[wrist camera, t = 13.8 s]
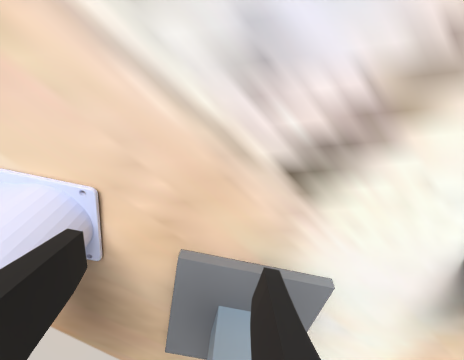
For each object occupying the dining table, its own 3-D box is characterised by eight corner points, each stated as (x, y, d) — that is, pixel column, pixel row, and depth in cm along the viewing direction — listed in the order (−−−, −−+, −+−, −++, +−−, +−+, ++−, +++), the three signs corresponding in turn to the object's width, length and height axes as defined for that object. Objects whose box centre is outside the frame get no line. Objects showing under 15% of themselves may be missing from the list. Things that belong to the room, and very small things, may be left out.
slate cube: (210, 333, 28) (203, 389, 23) (218, 305, 25) (212, 362, 21) (256, 341, 28) (257, 399, 23) (268, 315, 25) (272, 373, 21)
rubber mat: (167, 343, 31) (164, 352, 30) (180, 249, 23) (178, 257, 22) (280, 363, 32) (280, 372, 31) (331, 278, 24) (334, 288, 23)
